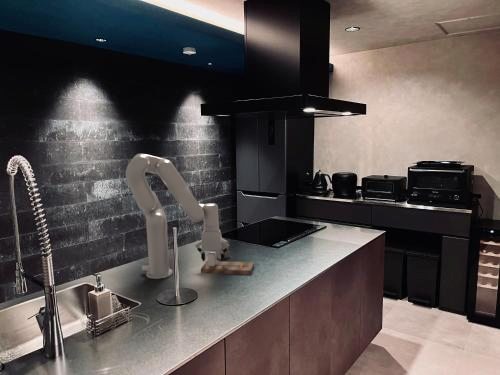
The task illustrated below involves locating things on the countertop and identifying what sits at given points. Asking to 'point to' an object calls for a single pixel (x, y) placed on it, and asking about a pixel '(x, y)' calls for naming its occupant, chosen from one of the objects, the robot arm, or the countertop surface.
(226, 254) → the digital clock
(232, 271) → the console board
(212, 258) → the fader knob
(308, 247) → the countertop surface
